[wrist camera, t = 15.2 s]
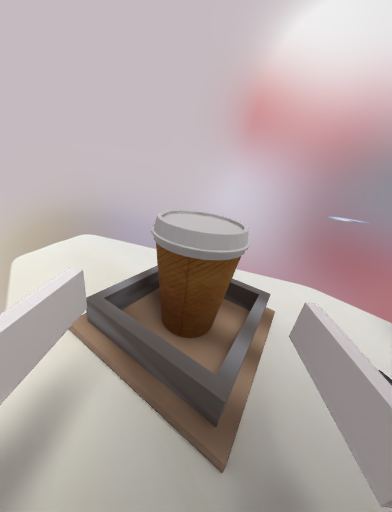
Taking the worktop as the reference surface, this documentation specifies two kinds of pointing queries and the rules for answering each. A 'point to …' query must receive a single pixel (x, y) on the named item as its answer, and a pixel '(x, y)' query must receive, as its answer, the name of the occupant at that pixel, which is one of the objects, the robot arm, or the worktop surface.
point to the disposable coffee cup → (195, 266)
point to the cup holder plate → (182, 357)
